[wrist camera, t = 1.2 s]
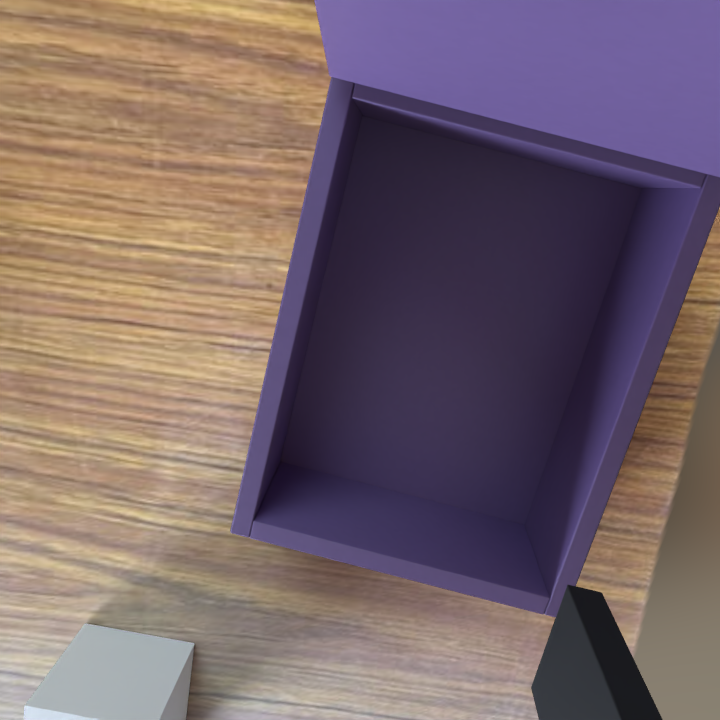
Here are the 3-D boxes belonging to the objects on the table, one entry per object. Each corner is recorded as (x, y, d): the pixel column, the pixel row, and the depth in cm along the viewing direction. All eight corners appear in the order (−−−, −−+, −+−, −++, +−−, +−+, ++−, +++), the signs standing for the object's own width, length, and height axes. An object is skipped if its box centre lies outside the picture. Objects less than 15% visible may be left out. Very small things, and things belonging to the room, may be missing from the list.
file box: (532, 534, 33) (563, 620, 27) (264, 465, 34) (229, 533, 27) (660, 174, 29) (734, 170, 22) (349, 93, 29) (333, 66, 22)
